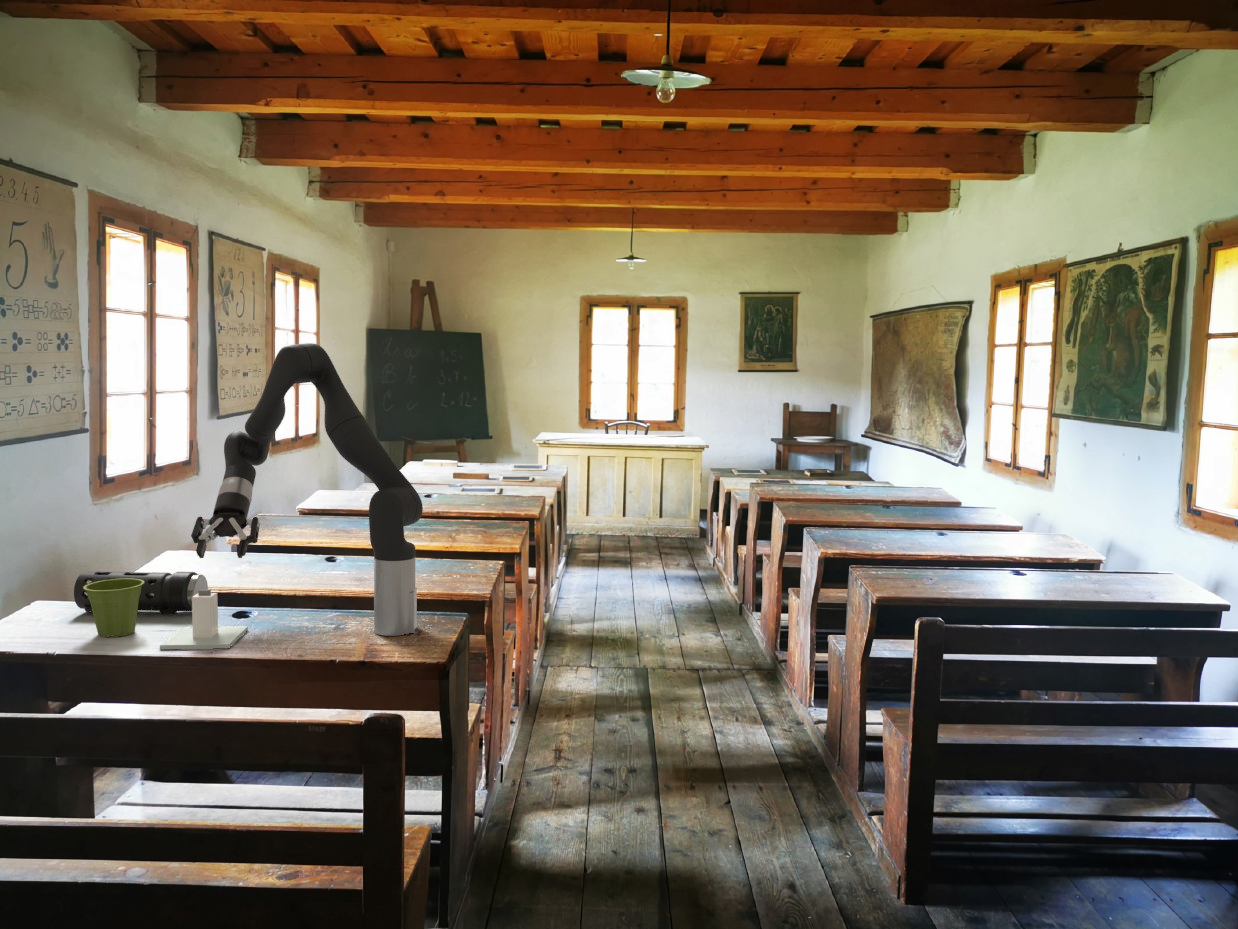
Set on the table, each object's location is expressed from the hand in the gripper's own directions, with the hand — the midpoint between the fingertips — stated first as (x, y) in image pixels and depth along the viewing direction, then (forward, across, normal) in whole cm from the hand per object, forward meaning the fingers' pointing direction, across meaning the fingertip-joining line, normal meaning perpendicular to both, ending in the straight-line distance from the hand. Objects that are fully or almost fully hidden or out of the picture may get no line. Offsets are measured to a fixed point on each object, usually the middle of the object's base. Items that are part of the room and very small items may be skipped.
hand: (220, 556), depth 207 cm
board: (+20, 0, +4) cm, 20 cm away
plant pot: (+15, -21, +8) cm, 27 cm away
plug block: (+19, 0, +3) cm, 19 cm away
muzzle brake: (+3, -22, +21) cm, 30 cm away
